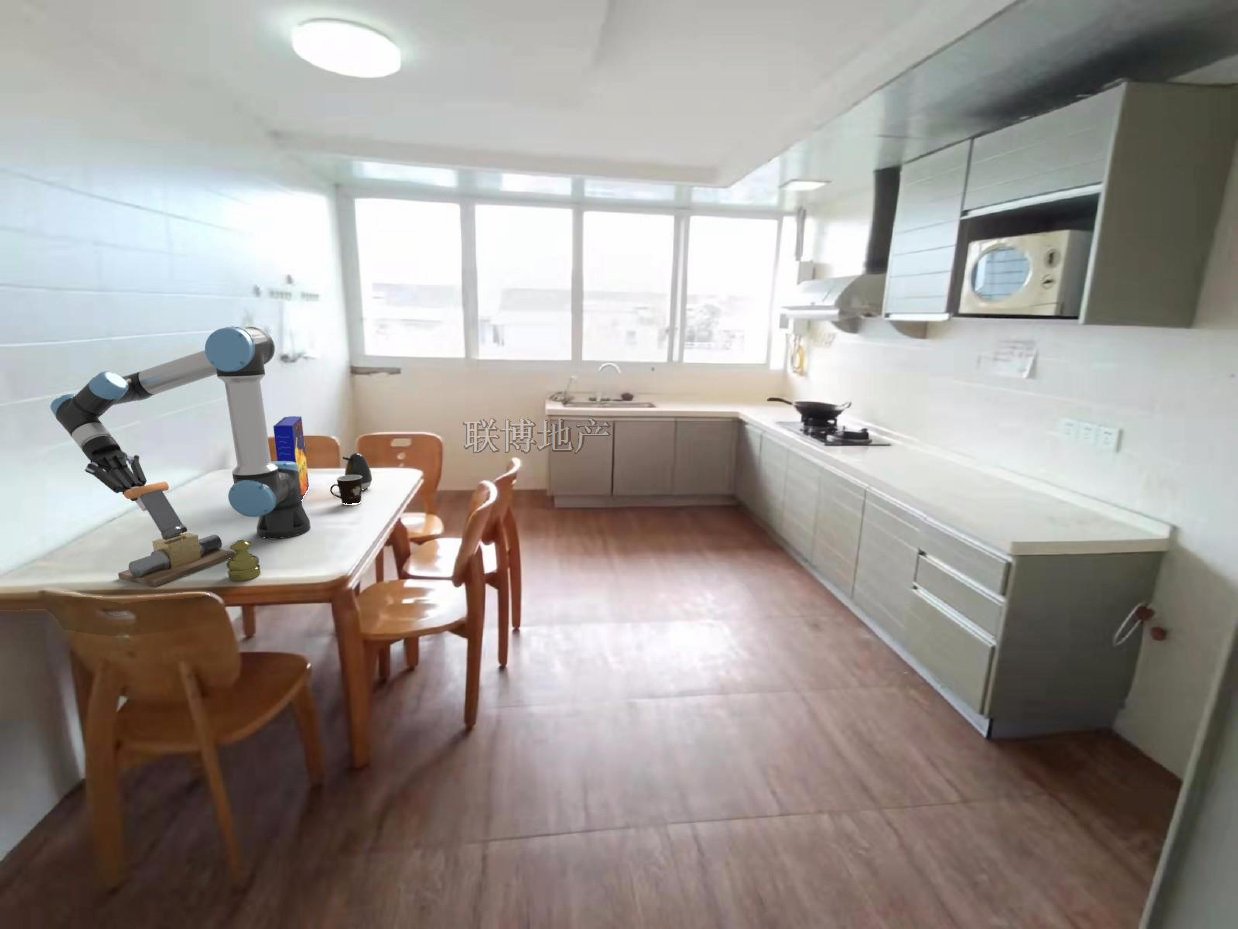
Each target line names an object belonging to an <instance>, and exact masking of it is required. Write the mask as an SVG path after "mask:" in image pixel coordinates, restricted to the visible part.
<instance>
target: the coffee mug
mask: <svg viewBox="0 0 1238 929" xmlns="http://www.w3.org/2000/svg"><path fill="white" fill-rule="evenodd" d="M336 482H337V484H336V483H334V484H333V485H331V487H330V489H329V492H330V494H332V495H333V496H334V497H336V498H339V499H340V500H341V504H342V503H345V504H346V503H347V504H352V503H359V502H360V501H361V502H362V491H361V490H362V476H360V475H345V474H344V475H340V476H338V477H337V478H336ZM336 486H337V487H338V490H339V495H340V496H339V495H337V494H335V493H334V492H333V488H334V487H336Z"/></svg>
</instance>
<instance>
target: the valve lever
mask: <svg viewBox="0 0 1238 929" xmlns="http://www.w3.org/2000/svg"><path fill="white" fill-rule="evenodd" d="M166 491H169V483H168V482H167V481H159V482H155V483H149V484H145V485H144V486H141V487H137V488H133V489H128V490H126V491H125V492H124V495H123V496H124V498H126V499H128V500H130V499H133V498H137V497H139V498H140V499H141V501H142V502H143V504H144V506H145V507H146V509H147V510H146V511H147V512H148V514H149V516H150V517H151V518H152V520H153V522H154V524H155V525H156V527H157V528H158V529H159V532H160V535H161V537H162V538H163V539H164V540H168V539H171V538H174V537H178V536H181V535H184V534H186V533H188V529H187V528H188V527H186V525H185V524H183V522H182V521H181V519H180V518H179V516H178V514H177V513H176V511H175V509H174V507H173V506H172V505H171V503H170V501H169V500H168V498H167V496H166V495H165V493H164V492H166Z"/></svg>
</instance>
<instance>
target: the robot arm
mask: <svg viewBox="0 0 1238 929" xmlns="http://www.w3.org/2000/svg"><path fill="white" fill-rule="evenodd" d="M275 351H276V347H275V343H274V340H273V338H272V336H270V334H269V333H267V332H266V331H264V330H263V329H261V328H258V327H255V326H226V327H222V328H219V329H217V330H214V331H213V332H212V333H211V334H210V335H209V336H208V337H207V338H206V341H205V345H204V350H201V351H198V352H194V353H192V354H189V355H187V356H183V357H179V358H177V359H173V360H171V361H168V362H165V363H161V364H159V365H156V366H152V367H149V368H147V369H143V370H140V371H137V372H134V373H131V374H128V375H124V376H123V375H122V376H121V375H119V374H117V373H115V372H110V371H101V372H99V373H98V374H96V375H95V376H93V377H92V378H91V379H90V380H89V381H88V383H86V384H85V385H84V387H83V388H81V390H79V391H78V392H77V393H75V394H74V393H66V394H63V395H61V396H60V397H57V398H55V399H54V400H52V401H51V403H50V410H51V412H52V414H53V415H54V416H55V418H56V421H58V422H59V423H60V425H62V427H63V428H64V430H66V431H67V433H68V434H69V436H70V437H71V438H72V439H73V441H74V442H75V444H76V445H77V446H78V447H79V448H80V450H81V451H82V452H83V454H84V455H85V457H86V459H88V460H89V462H90V463H87V466H86V468H85V469H84V471H85V472H86V473H87V474H89V475H92V476H94V477H95V478H96V479H98V480H99V481H100V482H101V483H102V484H104V485H105V486H106V487H107V488H108V489H110V490H111V491H112V492H114V493H115V494H120V493H121V494H122V495H123V496H124V492H125V491H126V490H128V489H133V488H137V487H141V486H146V485H147V481H148V480H147V478H146V476H145V474H144V471H143V469H142V466H141V464H140V456H139V455H138V454H134V455H133V456H132V455H128V454H127V452H124V451H123V450H122V449H121V446H120V444H118V442H117V441H116V439H115V438H114V437H113V436H112V434H111V433H110V432H109V430H108V429H107V428H106V427H105V425H104V424H103V423H102V422H101V420H100V418H101V416H102V415H104V414H105V413H106V412H107V411H108V410H109V409H110V408H111V407H112V406H114V405H115V406H116V405H120V404H127V403H131V402H136V401H143V400H146V399H149V398H151V397H153V396H155V395H157V394H162V393H164V392H167V391H170V390H172V389H176V388H180V387H182V386H185V385H189V384H191V383H194V382H197V381H200V380H204V379H207V378H209V377H212V376H215V375H216V377H217V378H218V379H219V380H221V381H222V382H223V383H224V387H225V393H226V401H227V405H228V406H227V407H228V413H229V419H230V426H231V432H232V441H233V446H234V447H233V448H234V453H235V458H236V467H234V468H233V470H232V471H231V472H232V473H231V474H232V479H233V480H232V481H233V485H232V486H231V487H230V489H229V491H228V494H227V497H228V498H227V499H228V502H229V504H230V506H231V507H232V508H233V510H234V511H236V512H238V513H239V514H240V515H243V516H245V517H247V518H257V517H258V520H257V525H256V534H258V535H257V536H258V537H259V536H260V537H259V538H262V537H265V538H264V539H269V538H276V539H282V538H281V537H286V538H292V537H295V536H294V535H296V536H298V535H297V534H299V535H302V534H304V532H305V531H307V532H308V531H309V530H311V521H310V519H309V516H308V514H307V513H306V511H305V509H304V507H303V502H302V501H301V491H300V481H299V471H298V466H297V464H296V463H295V462H292V461H277V460H276V461H275V460H273V461H272V456H271V451H270V445H269V436H268V429H267V422H266V415H265V409H264V399H263V393H262V386H261V380H262V379H263V378H265V376H266V371H265V365H266V364H268V363H270V361H271V360H272V359H273V357H274V354H275ZM128 465H130V468H131V469H130V468H129V466H128ZM129 500H130V501H132V502H135V503H136V504H137V505H138V507H139V508H140V509H141V511H142V512H145V511H147V509H146V507H145V506H144V504H143V502H142V501H141V499H140V498H139V497H137V498H133V499H129ZM301 533H302V534H301ZM305 533H306V532H305ZM291 536H292V537H291Z"/></svg>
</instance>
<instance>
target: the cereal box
mask: <svg viewBox="0 0 1238 929" xmlns="http://www.w3.org/2000/svg"><path fill="white" fill-rule="evenodd" d="M273 436H274V445H275V452H276V461H292V462H295V463H296V464H297V466H298V471H299V481H300V491H301V500H302V499H303V496H304V495H305V493H306V491H307V490H308V487H309V488H310V486H309V484H310V483H309V475H308V466H307V457H306V455H307V454H306V447H305V446H306V445H305V437H304V436H305V435H304V430H303V418H302V416H301V415H299V416H298V415H297V416H296V415H295V416H293V415H292V416H291V415H290V416H284V417H283V418H282V419H280V420H279V421H278V422H277V423H275V425H273Z"/></svg>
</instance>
